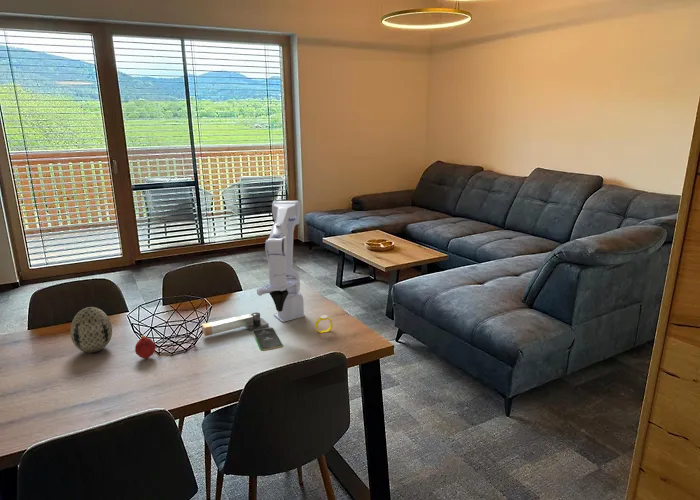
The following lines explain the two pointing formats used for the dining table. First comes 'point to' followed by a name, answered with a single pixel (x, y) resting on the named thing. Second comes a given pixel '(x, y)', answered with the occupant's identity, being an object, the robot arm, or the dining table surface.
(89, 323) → the decorative egg
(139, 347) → the onion
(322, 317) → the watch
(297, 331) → the dining table surface
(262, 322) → the pivot plate
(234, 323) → the swing bar
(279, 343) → the smartphone
